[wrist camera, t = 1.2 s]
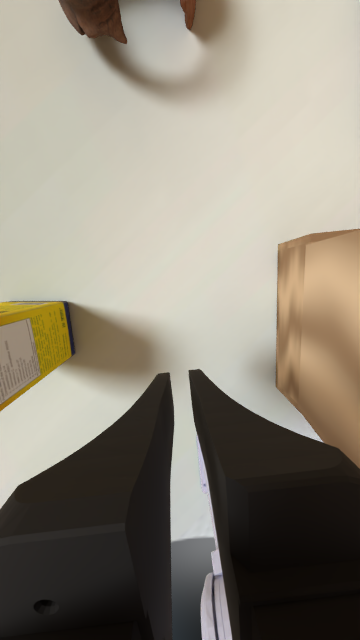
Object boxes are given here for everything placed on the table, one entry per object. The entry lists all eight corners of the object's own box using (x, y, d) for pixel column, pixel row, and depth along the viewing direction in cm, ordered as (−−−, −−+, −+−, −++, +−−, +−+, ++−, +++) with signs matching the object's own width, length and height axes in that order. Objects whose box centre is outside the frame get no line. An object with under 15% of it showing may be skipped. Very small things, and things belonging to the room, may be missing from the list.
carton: (358, 377, 22) (404, 402, 18) (275, 386, 22) (301, 413, 18) (376, 234, 18) (439, 220, 14) (278, 244, 18) (310, 233, 14)
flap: (413, 547, 8) (403, 546, 8) (302, 408, 17) (298, 408, 17) (507, 190, 5) (490, 192, 5) (311, 244, 14) (306, 245, 14)
